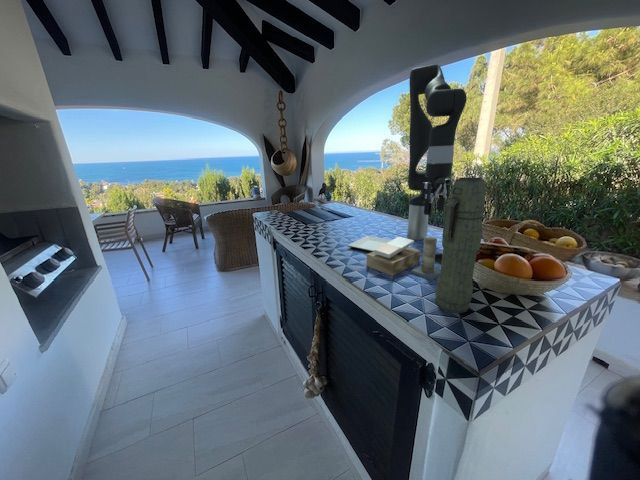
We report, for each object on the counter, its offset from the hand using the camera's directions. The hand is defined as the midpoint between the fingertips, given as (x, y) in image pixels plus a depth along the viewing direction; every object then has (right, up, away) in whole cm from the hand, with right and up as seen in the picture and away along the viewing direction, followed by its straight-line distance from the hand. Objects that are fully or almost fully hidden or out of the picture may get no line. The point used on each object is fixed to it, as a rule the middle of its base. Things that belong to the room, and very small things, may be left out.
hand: (434, 212), depth 85 cm
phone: (+13, -19, +15) cm, 27 cm away
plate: (-12, -13, +35) cm, 40 cm away
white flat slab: (-9, -12, +13) cm, 20 cm away
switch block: (-9, -19, +15) cm, 26 cm away
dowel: (+1, -20, +7) cm, 21 cm away
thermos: (-1, -28, -12) cm, 30 cm away
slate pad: (+1, -21, +7) cm, 22 cm away
